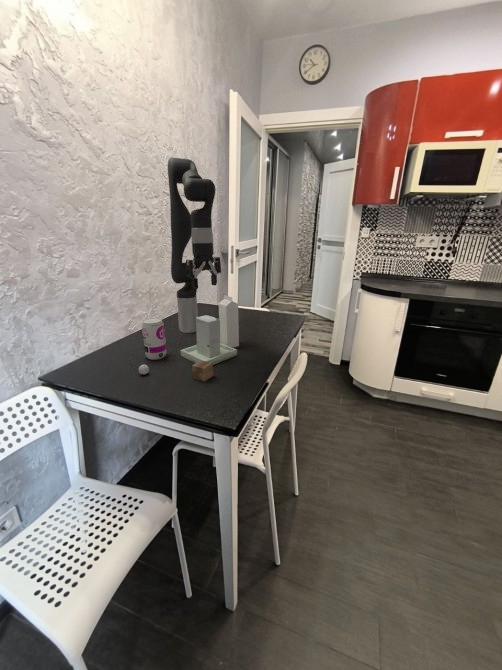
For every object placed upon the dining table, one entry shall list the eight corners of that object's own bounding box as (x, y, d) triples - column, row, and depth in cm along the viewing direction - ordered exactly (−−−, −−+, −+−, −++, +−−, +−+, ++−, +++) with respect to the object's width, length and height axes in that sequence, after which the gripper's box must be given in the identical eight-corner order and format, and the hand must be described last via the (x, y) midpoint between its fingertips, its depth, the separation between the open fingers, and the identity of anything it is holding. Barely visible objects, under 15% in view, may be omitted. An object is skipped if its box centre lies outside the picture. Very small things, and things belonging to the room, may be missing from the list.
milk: (227, 349, 129) (225, 298, 122) (220, 345, 134) (217, 295, 126) (239, 346, 133) (238, 296, 125) (231, 341, 137) (230, 293, 129)
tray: (181, 355, 123) (180, 350, 122) (212, 345, 134) (211, 339, 133) (205, 367, 112) (205, 361, 112) (237, 355, 123) (236, 349, 122)
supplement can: (170, 353, 125) (167, 318, 120) (158, 361, 118) (154, 324, 113) (154, 351, 128) (149, 316, 123) (141, 358, 120) (136, 322, 115)
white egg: (137, 374, 108) (136, 365, 107) (146, 370, 110) (145, 362, 109) (142, 377, 106) (140, 368, 105) (151, 373, 108) (150, 364, 107)
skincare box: (196, 352, 123) (194, 317, 118) (208, 348, 128) (206, 314, 122) (210, 358, 118) (208, 321, 113) (221, 353, 122) (220, 318, 117)
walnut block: (192, 378, 105) (191, 365, 103) (201, 372, 109) (200, 360, 107) (204, 381, 103) (203, 368, 101) (213, 375, 107) (212, 362, 105)
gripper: (211, 240, 115) (213, 283, 121) (179, 241, 106) (183, 288, 111) (224, 241, 110) (226, 285, 116) (192, 242, 101) (195, 291, 106)
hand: (205, 286), depth 113 cm, fingers open, 8 cm apart
